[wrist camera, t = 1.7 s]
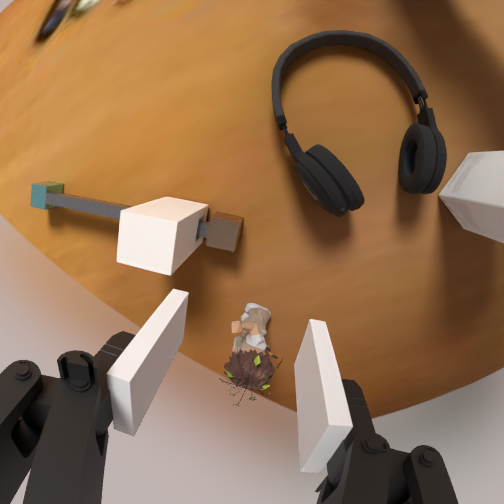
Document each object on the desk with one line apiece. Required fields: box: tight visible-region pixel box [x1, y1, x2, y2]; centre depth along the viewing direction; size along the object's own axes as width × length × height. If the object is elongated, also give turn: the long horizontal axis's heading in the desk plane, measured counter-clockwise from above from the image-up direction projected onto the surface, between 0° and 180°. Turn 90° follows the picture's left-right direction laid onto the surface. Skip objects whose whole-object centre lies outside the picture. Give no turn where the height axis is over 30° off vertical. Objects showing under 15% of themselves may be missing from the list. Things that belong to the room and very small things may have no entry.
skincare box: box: [439, 151, 504, 243], centre depth 23 cm, size 8×7×16 cm
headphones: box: [272, 30, 447, 217], centre depth 27 cm, size 17×8×20 cm
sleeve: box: [117, 197, 209, 276], centre depth 28 cm, size 5×4×11 cm
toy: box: [222, 303, 283, 406], centre depth 29 cm, size 6×6×15 cm
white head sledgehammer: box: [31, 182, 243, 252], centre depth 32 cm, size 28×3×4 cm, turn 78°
